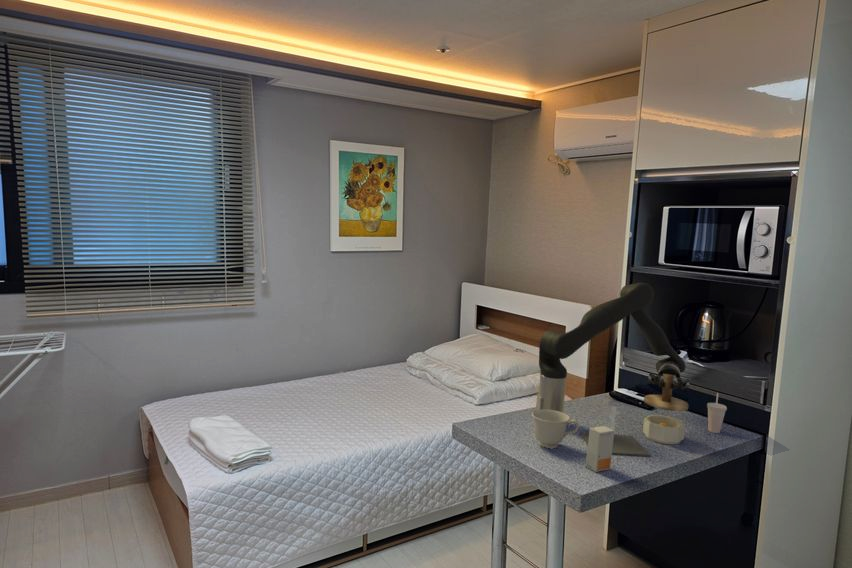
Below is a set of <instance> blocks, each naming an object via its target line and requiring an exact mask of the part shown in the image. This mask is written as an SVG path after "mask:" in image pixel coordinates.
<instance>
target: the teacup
mask: <svg viewBox="0 0 852 568" xmlns="http://www.w3.org/2000/svg"><path fill="white" fill-rule="evenodd" d="M531 416H532V417H533V428H534V429H533V430H534V436H535V439H536V440H537V441H539V442H538V443H539V444H540V445H541V446H543V447H542V448H544V447H546V448H545V449H548V448H555V449H557V448H558V444H560V443H561V442H563V441H564V438H565V437H566V436H569V435H573V434H576V432H578V430H579V429H580V425H579V424H580V423H579V422H578V420H576V419H571V417H570V416H569V415H568V414H567V413H565V412H563V413H562V412H559V411H555V410H548V409H540V410H536V409H535V410H533V411H532V412H531ZM572 424H575V428H574V429H572V430H569V431H566V429H567V427H571V425H572ZM539 444H538V445H539ZM540 445H539V446H540ZM541 446H540V447H541ZM556 447H557V448H556Z"/></svg>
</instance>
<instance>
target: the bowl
mask: <svg viewBox="0 0 852 568" xmlns="http://www.w3.org/2000/svg"><path fill="white" fill-rule="evenodd" d="M685 431H686V424H685V423H684V422H682V421H681V420H679V419H677V418H674V417H671V416H667V415H659V414H650V415H649V414H648V415H647V416H645V417H644V418H643V426H642V433H644V434H645V438H646V439H648V440H650V441H652V442H654V443H658V444H664V445H670V446H671V445H672V446H673V445H674V446H675V445H678V444H680V443H681V441H683V440H684V439H685V434H686V433H685Z"/></svg>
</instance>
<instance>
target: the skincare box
mask: <svg viewBox="0 0 852 568" xmlns="http://www.w3.org/2000/svg"><path fill="white" fill-rule="evenodd" d="M588 430H589V432H588V433H589V440H588V445H587V449H586V450H587V451H586V458H585V459H586V460H585V467H586V468H587V467H588V468H587V469H589V470H591V471H592V470H593V472H594V471H595V472H594V473H598V472H602V471H603V470H604V471H609V469H610V470H611V466H612V465H611V464H612V457H613V455H612V448H613V439H614V435H615V430H614V429H611V428H610V427H608V426H606V425H603V426H596V427H590V428H589V429H588Z"/></svg>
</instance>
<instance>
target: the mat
mask: <svg viewBox="0 0 852 568" xmlns="http://www.w3.org/2000/svg"><path fill="white" fill-rule="evenodd" d="M579 435H580V437H581V438H582V440H583V439H584V440H583V441H584V442H585V443H586V446H588V440H589V432H579ZM612 454H614V456H616V455H617V456H630V455H633V456H634V457H647V456H651V457H652V454H651V453H650V452H649V451H648V450H647V449H646V448H645V447H644V446H643V445H642V444H641V443H640V442H639V441H638V440H637V439H636V438H635V437H634V436H633V435H627V434H625V435H624V434H614V439H613V448H612ZM633 456H632V457H633Z"/></svg>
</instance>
